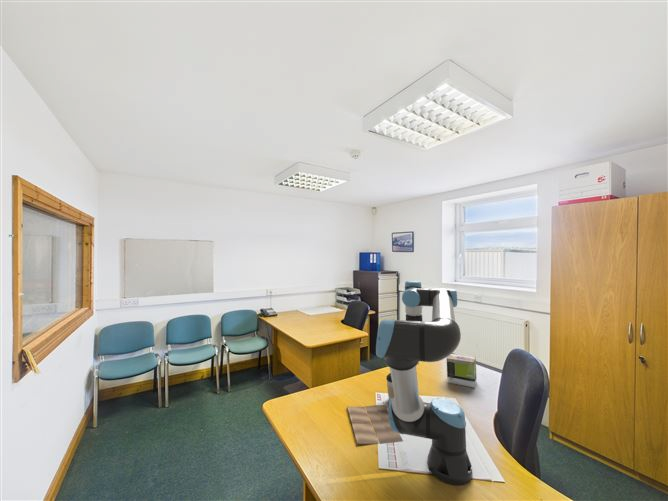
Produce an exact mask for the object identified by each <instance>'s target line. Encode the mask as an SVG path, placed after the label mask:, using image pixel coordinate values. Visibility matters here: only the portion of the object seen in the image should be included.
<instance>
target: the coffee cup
mask: <svg viewBox="0 0 668 501" xmlns="http://www.w3.org/2000/svg"><path fill="white" fill-rule="evenodd" d="M386 388H387V397H388V401H389V402H390V400H391V399H392V398H394V397H395V396H394V390H393V384H392V378H391V372H390V373H388V374H387V375H386Z"/></svg>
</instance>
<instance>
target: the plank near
mask: <svg viewBox="0 0 668 501" xmlns="http://www.w3.org/2000/svg"><path fill="white" fill-rule="evenodd" d="M351 429H352V431H353V435H354V436H353V437H354V439H355V443H356V446H367V445H377V444H380V443H379V440H378V438H377V435H376V433H375V430H374V428H373V425H372V423H352V425H351Z"/></svg>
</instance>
